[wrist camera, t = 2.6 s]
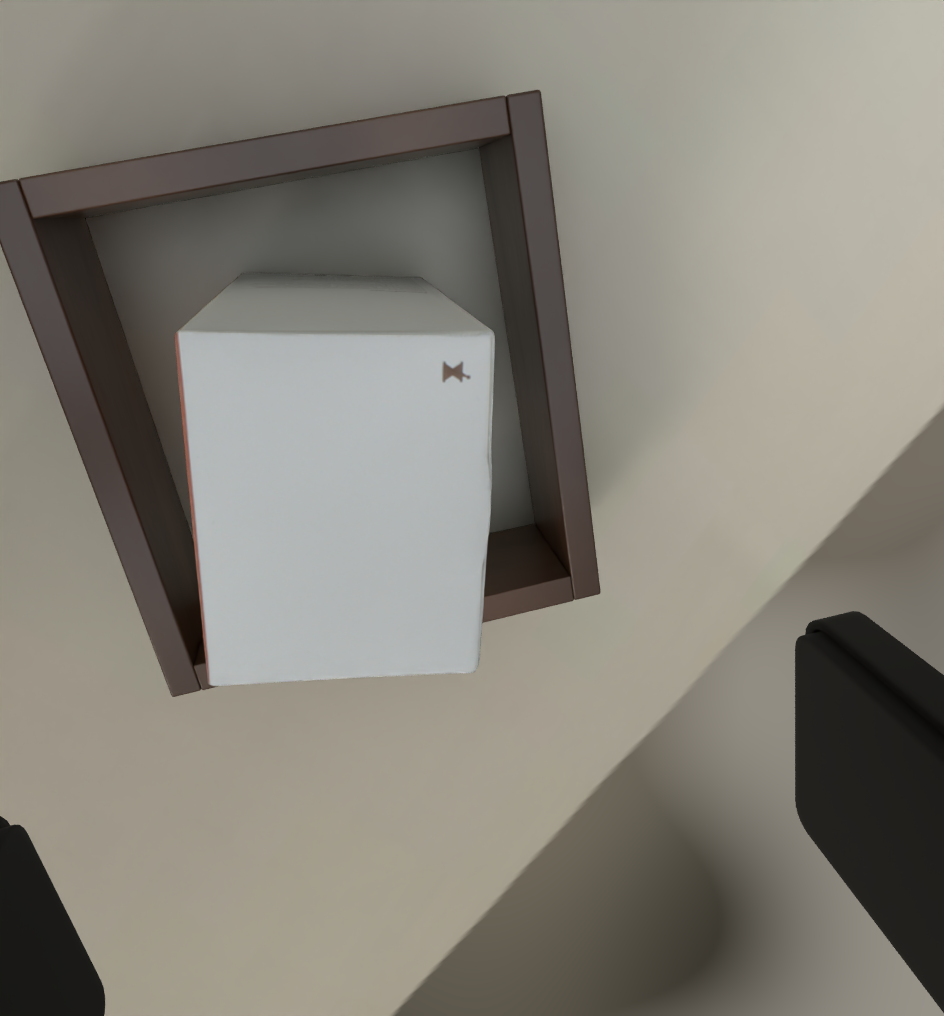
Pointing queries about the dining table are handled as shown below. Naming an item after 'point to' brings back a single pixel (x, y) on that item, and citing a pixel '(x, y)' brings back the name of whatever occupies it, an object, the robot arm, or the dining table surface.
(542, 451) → the wooden frame
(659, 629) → the dining table surface
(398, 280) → the small box
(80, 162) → the dining table surface
